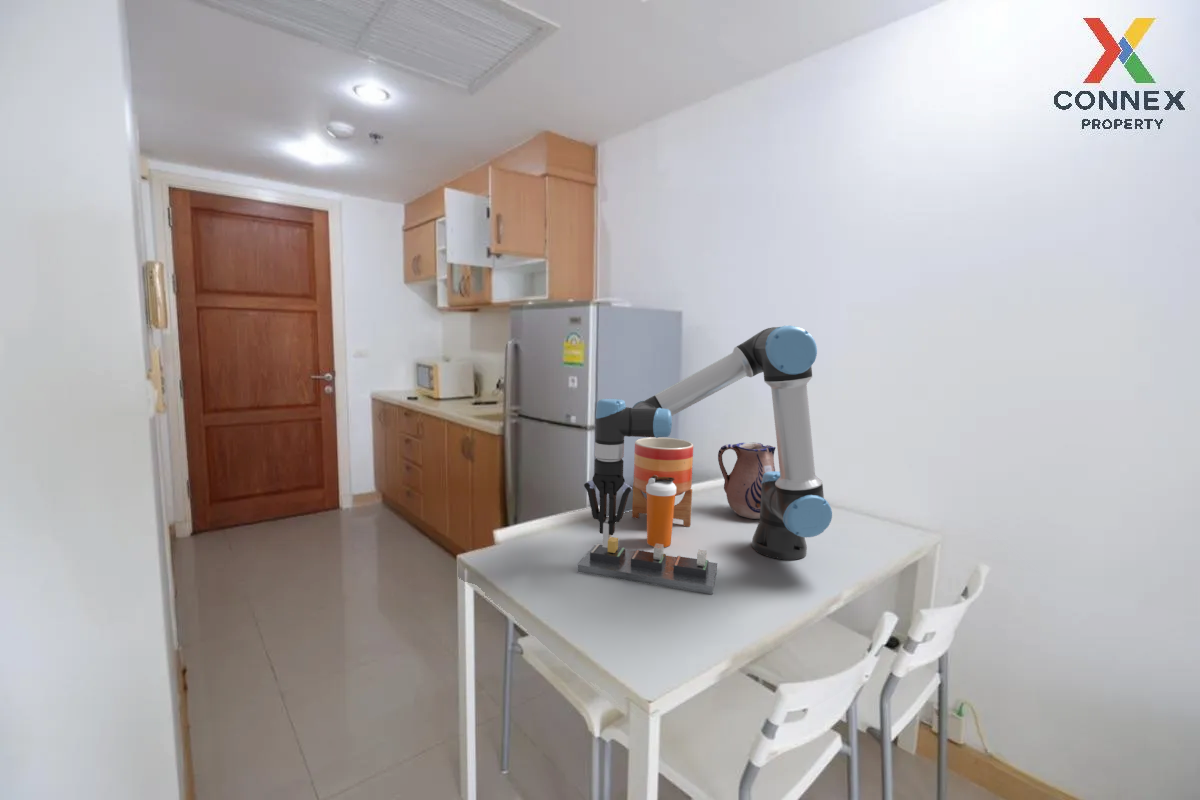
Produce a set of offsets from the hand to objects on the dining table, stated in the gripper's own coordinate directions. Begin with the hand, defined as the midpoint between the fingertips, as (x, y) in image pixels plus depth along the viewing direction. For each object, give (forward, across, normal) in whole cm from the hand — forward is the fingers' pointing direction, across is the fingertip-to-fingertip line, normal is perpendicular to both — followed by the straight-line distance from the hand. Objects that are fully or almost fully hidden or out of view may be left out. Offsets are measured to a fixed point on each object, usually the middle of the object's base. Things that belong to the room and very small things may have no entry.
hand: (606, 545), depth 137 cm
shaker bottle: (+6, -10, -20) cm, 23 cm away
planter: (+6, -7, -39) cm, 40 cm away
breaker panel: (+5, -11, 0) cm, 13 cm away
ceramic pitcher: (+6, -34, -57) cm, 67 cm away
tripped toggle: (+1, -2, 0) cm, 2 cm away
